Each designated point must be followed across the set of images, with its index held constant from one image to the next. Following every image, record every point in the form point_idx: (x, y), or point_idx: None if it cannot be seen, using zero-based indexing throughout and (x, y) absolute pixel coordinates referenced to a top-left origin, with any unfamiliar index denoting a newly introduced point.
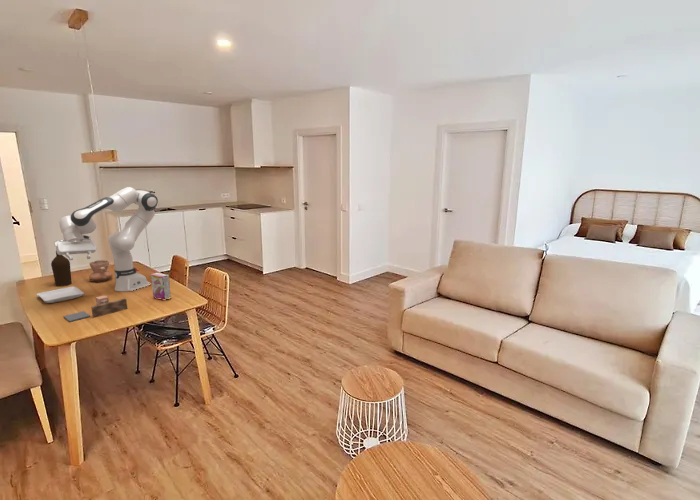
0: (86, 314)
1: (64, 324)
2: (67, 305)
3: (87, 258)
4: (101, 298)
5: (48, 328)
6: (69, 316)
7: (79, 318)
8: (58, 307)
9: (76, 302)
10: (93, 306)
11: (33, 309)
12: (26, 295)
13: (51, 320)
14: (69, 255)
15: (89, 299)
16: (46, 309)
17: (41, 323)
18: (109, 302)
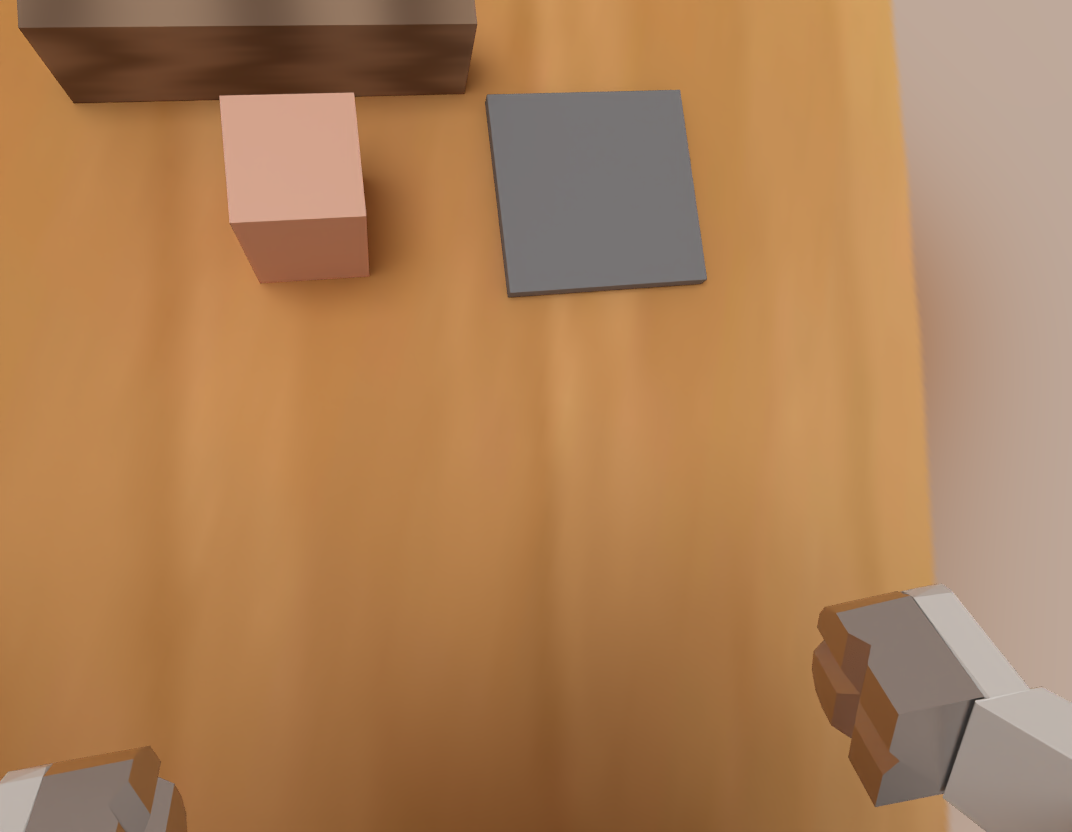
0: (510, 156)
1: (722, 76)
2: (602, 704)
3: (176, 806)
4: (314, 103)
5: (844, 79)
6: (660, 223)
7: (591, 92)
8: (695, 693)
9: (495, 762)
10: (454, 12)
11: (914, 807)
12: None
13: (802, 282)
14: (1063, 743)
15: (333, 789)
16: (806, 706)
17: (881, 263)
18: (250, 14)
